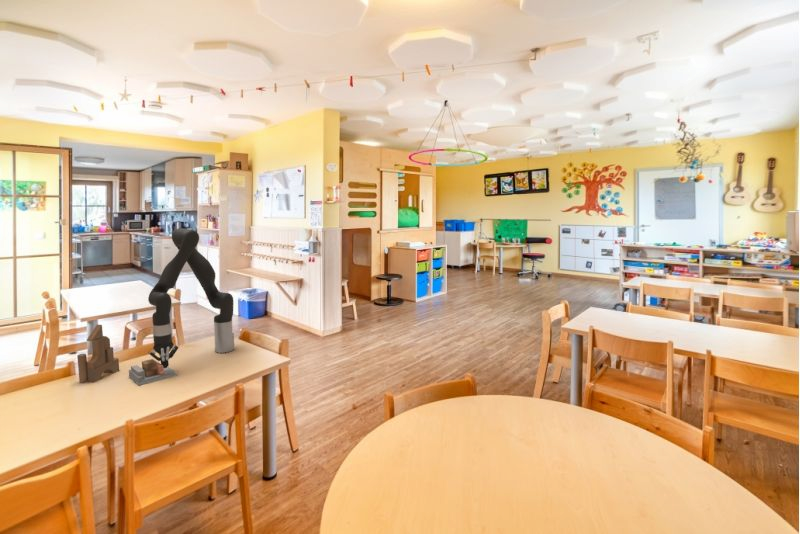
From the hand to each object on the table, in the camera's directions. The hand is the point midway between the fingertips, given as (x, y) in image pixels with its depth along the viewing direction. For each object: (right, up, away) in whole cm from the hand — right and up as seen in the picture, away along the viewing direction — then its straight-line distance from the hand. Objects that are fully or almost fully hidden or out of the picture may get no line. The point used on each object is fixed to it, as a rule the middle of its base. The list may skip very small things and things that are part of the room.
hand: (165, 367), depth 190 cm
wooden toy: (-27, -3, -6) cm, 28 cm away
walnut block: (-4, -2, -5) cm, 7 cm away
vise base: (-3, -3, -3) cm, 6 cm away
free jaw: (-2, -2, -2) cm, 4 cm away
